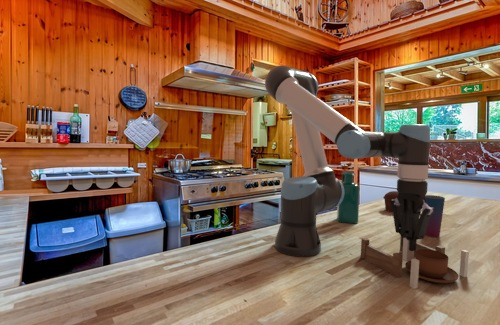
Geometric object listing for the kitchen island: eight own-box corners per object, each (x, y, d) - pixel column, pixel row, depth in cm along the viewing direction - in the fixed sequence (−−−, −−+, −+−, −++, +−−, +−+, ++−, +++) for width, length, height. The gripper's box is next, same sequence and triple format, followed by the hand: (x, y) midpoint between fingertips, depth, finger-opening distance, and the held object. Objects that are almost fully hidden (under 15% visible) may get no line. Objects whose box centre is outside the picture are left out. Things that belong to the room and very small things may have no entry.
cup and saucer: (407, 262, 85) (408, 242, 85) (457, 273, 78) (458, 252, 78) (402, 278, 75) (403, 256, 75) (458, 293, 68) (460, 268, 68)
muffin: (384, 212, 145) (385, 192, 144) (381, 207, 155) (382, 189, 154) (410, 214, 141) (411, 194, 140) (405, 209, 152) (406, 190, 151)
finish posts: (414, 288, 70) (415, 261, 69) (409, 286, 71) (411, 259, 70) (467, 276, 76) (468, 251, 76) (462, 274, 78) (464, 249, 77)
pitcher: (358, 224, 124) (361, 173, 122) (338, 222, 125) (340, 173, 124) (355, 218, 133) (357, 171, 131) (336, 216, 135) (338, 170, 133)
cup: (422, 236, 109) (424, 197, 108) (420, 231, 115) (423, 194, 114) (443, 239, 106) (446, 199, 104) (441, 234, 112) (443, 196, 110)
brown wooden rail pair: (396, 277, 76) (398, 255, 75) (360, 257, 88) (361, 238, 88) (443, 267, 82) (445, 247, 81) (403, 250, 94) (404, 232, 94)
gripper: (444, 182, 76) (438, 267, 78) (402, 176, 88) (398, 250, 90) (423, 183, 73) (418, 271, 75) (383, 176, 86) (380, 253, 87)
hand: (407, 259), depth 83 cm, fingers closed
